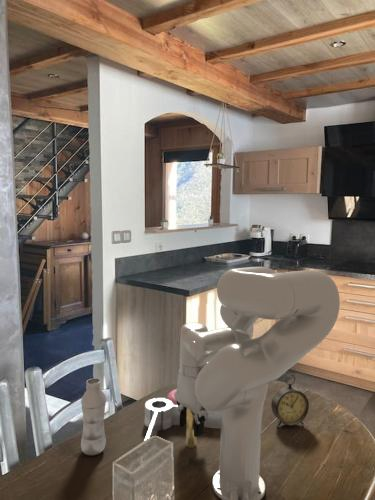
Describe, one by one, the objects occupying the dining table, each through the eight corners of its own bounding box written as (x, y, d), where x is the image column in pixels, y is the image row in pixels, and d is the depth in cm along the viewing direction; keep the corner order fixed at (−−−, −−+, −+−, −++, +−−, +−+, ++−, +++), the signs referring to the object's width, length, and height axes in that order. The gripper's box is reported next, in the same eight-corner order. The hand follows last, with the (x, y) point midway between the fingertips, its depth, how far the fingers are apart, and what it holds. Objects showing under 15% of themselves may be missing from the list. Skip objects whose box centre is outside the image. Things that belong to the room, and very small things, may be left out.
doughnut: (173, 394, 146) (173, 383, 146) (203, 400, 143) (203, 389, 142) (161, 409, 136) (161, 397, 136) (192, 415, 132) (193, 403, 132)
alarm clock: (275, 431, 124) (278, 379, 122) (268, 421, 129) (270, 372, 127) (308, 427, 127) (311, 376, 125) (299, 418, 132) (302, 369, 130)
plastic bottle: (76, 450, 112) (76, 380, 110) (99, 441, 116) (99, 373, 114) (87, 462, 107) (87, 388, 105) (110, 452, 111) (110, 382, 109)
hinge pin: (195, 448, 114) (197, 410, 113) (185, 447, 115) (186, 409, 114) (196, 441, 117) (197, 405, 116) (186, 441, 118) (187, 404, 116)
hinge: (221, 469, 106) (222, 447, 105) (129, 461, 108) (130, 439, 107) (223, 420, 129) (223, 402, 129) (148, 414, 132) (148, 397, 131)
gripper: (224, 375, 109) (222, 439, 111) (184, 356, 123) (182, 413, 125) (203, 382, 105) (201, 449, 107) (163, 361, 118) (162, 421, 120)
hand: (191, 429), depth 116 cm, fingers open, 5 cm apart
